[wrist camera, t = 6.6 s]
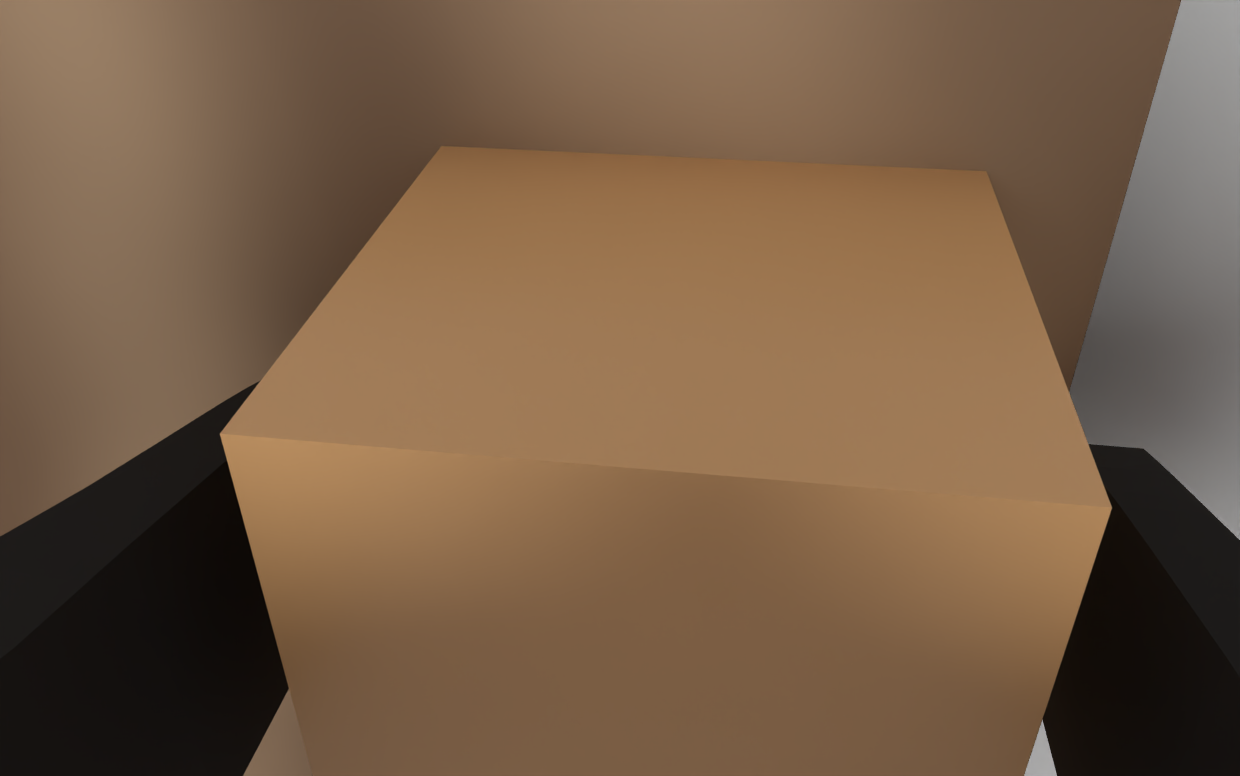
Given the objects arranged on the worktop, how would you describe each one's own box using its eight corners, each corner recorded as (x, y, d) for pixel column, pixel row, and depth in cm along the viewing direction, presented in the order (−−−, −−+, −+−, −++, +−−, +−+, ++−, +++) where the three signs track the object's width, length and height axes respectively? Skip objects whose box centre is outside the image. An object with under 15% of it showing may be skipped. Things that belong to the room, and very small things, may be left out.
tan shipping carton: (483, 540, 14) (349, 907, 10) (440, 146, 11) (220, 433, 7) (905, 580, 13) (952, 991, 9) (985, 171, 10) (1111, 508, 6)
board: (38, 723, 20) (-2, 778, 19) (-345, -89, 12) (-450, -67, 11) (915, 833, 18) (923, 901, 17) (1147, -46, 10) (1185, -16, 9)
